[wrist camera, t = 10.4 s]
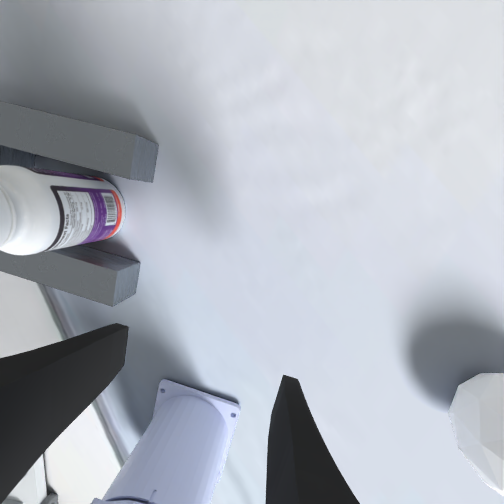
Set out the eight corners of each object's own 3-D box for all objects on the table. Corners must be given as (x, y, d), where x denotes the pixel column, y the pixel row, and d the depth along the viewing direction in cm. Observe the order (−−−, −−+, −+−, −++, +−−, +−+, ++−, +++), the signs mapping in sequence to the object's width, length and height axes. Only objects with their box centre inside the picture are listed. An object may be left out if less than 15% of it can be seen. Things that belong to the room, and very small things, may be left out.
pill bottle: (61, 211, 22) (-111, 216, 13) (91, 163, 21) (-73, 129, 11) (106, 252, 22) (-30, 288, 13) (139, 207, 21) (16, 210, 11)
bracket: (135, 293, 22) (110, 307, 19) (2, 252, 24) (-41, 259, 21) (158, 144, 20) (133, 133, 17) (5, 106, 21) (-44, 89, 18)
